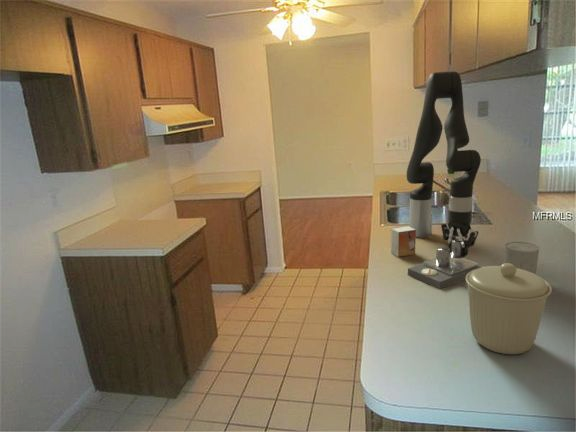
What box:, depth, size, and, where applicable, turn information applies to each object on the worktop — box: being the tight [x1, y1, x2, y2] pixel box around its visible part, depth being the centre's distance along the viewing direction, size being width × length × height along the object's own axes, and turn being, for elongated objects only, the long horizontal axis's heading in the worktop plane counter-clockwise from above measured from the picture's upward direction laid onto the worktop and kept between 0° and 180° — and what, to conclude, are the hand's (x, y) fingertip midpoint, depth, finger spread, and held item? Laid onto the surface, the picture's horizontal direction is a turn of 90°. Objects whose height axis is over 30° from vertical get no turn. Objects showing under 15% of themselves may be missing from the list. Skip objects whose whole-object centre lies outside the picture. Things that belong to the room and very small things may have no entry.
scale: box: [407, 263, 482, 289], centre depth 139 cm, size 21×14×3 cm, turn 119°
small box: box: [390, 225, 417, 258], centre depth 159 cm, size 8×6×10 cm
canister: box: [464, 262, 553, 356], centre depth 96 cm, size 18×18×21 cm
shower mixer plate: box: [422, 253, 480, 275], centre depth 140 cm, size 14×12×1 cm
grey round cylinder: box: [503, 241, 540, 275], centre depth 129 cm, size 10×10×12 cm
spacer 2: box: [450, 237, 465, 259], centre depth 140 cm, size 4×4×6 cm
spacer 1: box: [435, 246, 451, 268], centre depth 137 cm, size 4×4×6 cm
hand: (457, 254), depth 141 cm, fingers closed on spacer 2, 4 cm apart
